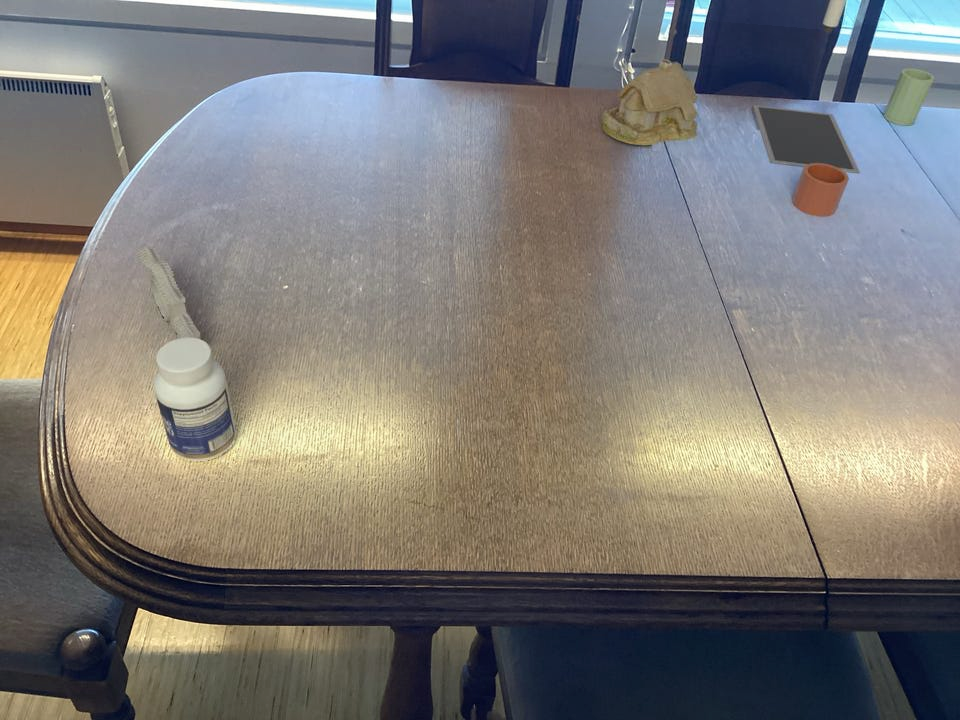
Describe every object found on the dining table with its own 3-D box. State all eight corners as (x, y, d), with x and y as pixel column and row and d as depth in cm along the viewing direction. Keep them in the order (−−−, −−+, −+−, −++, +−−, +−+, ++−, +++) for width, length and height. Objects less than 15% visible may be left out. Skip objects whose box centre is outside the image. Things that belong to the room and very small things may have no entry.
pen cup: (909, 114, 128) (929, 70, 123) (917, 127, 124) (938, 82, 120) (879, 110, 128) (898, 66, 123) (887, 123, 125) (906, 79, 120)
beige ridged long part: (206, 356, 76) (196, 306, 72) (187, 363, 75) (175, 312, 71) (165, 287, 83) (153, 238, 79) (147, 292, 82) (134, 243, 78)
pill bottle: (171, 421, 70) (148, 334, 63) (236, 414, 71) (220, 327, 64) (168, 469, 66) (143, 381, 59) (237, 460, 67) (220, 374, 60)
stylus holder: (829, 200, 106) (843, 165, 102) (838, 222, 102) (853, 187, 98) (787, 195, 106) (800, 160, 103) (794, 217, 102) (808, 182, 99)
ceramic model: (657, 104, 124) (672, 38, 117) (712, 135, 117) (731, 67, 111) (587, 124, 117) (598, 55, 111) (641, 158, 111) (657, 86, 104)
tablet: (830, 119, 124) (832, 113, 124) (857, 177, 111) (860, 171, 110) (751, 109, 125) (753, 104, 124) (768, 166, 112) (770, 161, 111)
